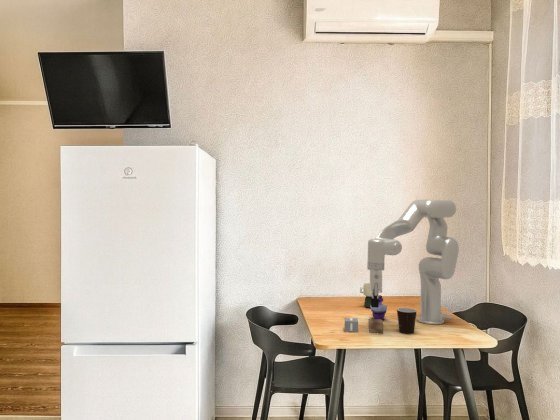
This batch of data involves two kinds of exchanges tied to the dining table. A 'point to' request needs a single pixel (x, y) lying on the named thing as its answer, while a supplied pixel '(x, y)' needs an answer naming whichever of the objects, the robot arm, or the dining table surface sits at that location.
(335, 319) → the dining table surface
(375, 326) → the walnut block
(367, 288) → the character mug
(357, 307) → the dining table surface
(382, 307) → the potion bottle
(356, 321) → the marked slate block
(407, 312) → the coffee mug
